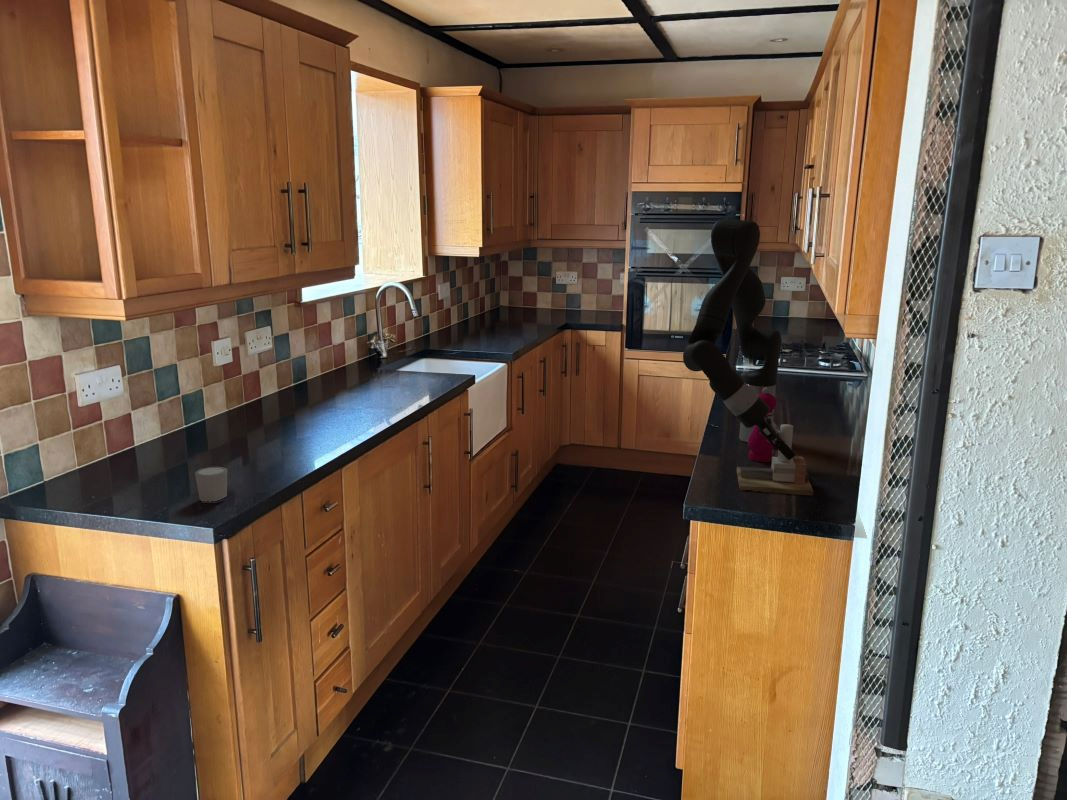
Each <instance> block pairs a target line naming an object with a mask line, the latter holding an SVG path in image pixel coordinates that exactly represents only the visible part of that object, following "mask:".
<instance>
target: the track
mask: <svg viewBox="0 0 1067 800" xmlns="http://www.w3.org/2000/svg"><path fill="white" fill-rule="evenodd" d="M793 460H794V462H795V464H796V468H795V479H794V482H784V481H773V479H772V478H773V469H771V468H765V467H764V468H763V467H762V468H761V467H749V466H736V475H737V483H738V486H739V487H738V488H740V489H739V491H745V490H752V491H751V492H758V491H761V493H772V492H774V494H775V493H776V494H786V495H787V494H789V495H801V496H802V495H803V496H814V489H813V487H812V484H811V482H810V480H809V472H808V471H807V463H806V461H805V459H804V457H803V456H796V455H795V456H794V457H793Z"/></svg>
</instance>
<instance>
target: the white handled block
mask: <svg viewBox="0 0 1067 800" xmlns="http://www.w3.org/2000/svg"><path fill="white" fill-rule="evenodd" d="M779 430H780V433H781V438H782V439H783V440H784V441H785V443H786V444H787V445H788V446H789V447H790V449H791V450H792V444H793V434H794V425H793V424H787V423H785V424H784V423H783V424H780V427H779ZM795 468H796V464H795V462H794V460H793V458H792V459H791V460H788V459H787V458H786V457H785V456H784V455H783V454H782V453H781V452H780V451H779V450H777V456H772V460H771V465H770V469H773V478H772V479H773V481H784V482H794V479H795Z"/></svg>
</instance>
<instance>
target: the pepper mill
mask: <svg viewBox="0 0 1067 800" xmlns="http://www.w3.org/2000/svg"><path fill="white" fill-rule="evenodd" d="M762 392H763V393H760V394H758V395H759V397H760V398H761V399H762V400H763V401H764V402H765V403H766V404H767V405H768V406H769V408H770V411H769V413H768V414H767V415H766V416H767V417H768V418H771V419H772V417H773V418H774V414H775V413H774V412H773V409H774V410H775V409H776V407H777V398H776V396H775V397H774V396H773V395H771V394H769V389H768V388H764V389H763V390H762ZM773 413H774V414H773ZM747 445H748V448H749V449H750V450H749V451H748V459H749V460H751V461H752V462H753V461H754V462H756V463H757V462H758V463H759V462H760V463H768V462H769V463H770V462H772V457H773V453H772V451H773V450H774V449H775V448H774V447H773V446H772V444H771V443H769V442H768V441H767V440H766V438H765V437H764V436H763V435H761V434H760V432H759V431H758V426H757V425H755V426H754V429H753V431H752V433H751V434H750V436H749V439H748V442H747Z"/></svg>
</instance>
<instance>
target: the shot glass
mask: <svg viewBox="0 0 1067 800" xmlns="http://www.w3.org/2000/svg"><path fill="white" fill-rule="evenodd" d="M194 476H195V480H196V481H195V482H196V486H197V491H198V496H199V501H200V500H201V501H205V502H206V501H209V502H211V501H217V500H220V499H222V498H224V497H226V496H227V495H228V494H227V493H228V492H227V491H228V490H227V489H228V469H227V468H226V467H225V466H224V467H222V466H209V467H202V468H199V469H198V470H196V471H195V473H194ZM227 497H228V496H227Z"/></svg>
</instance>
